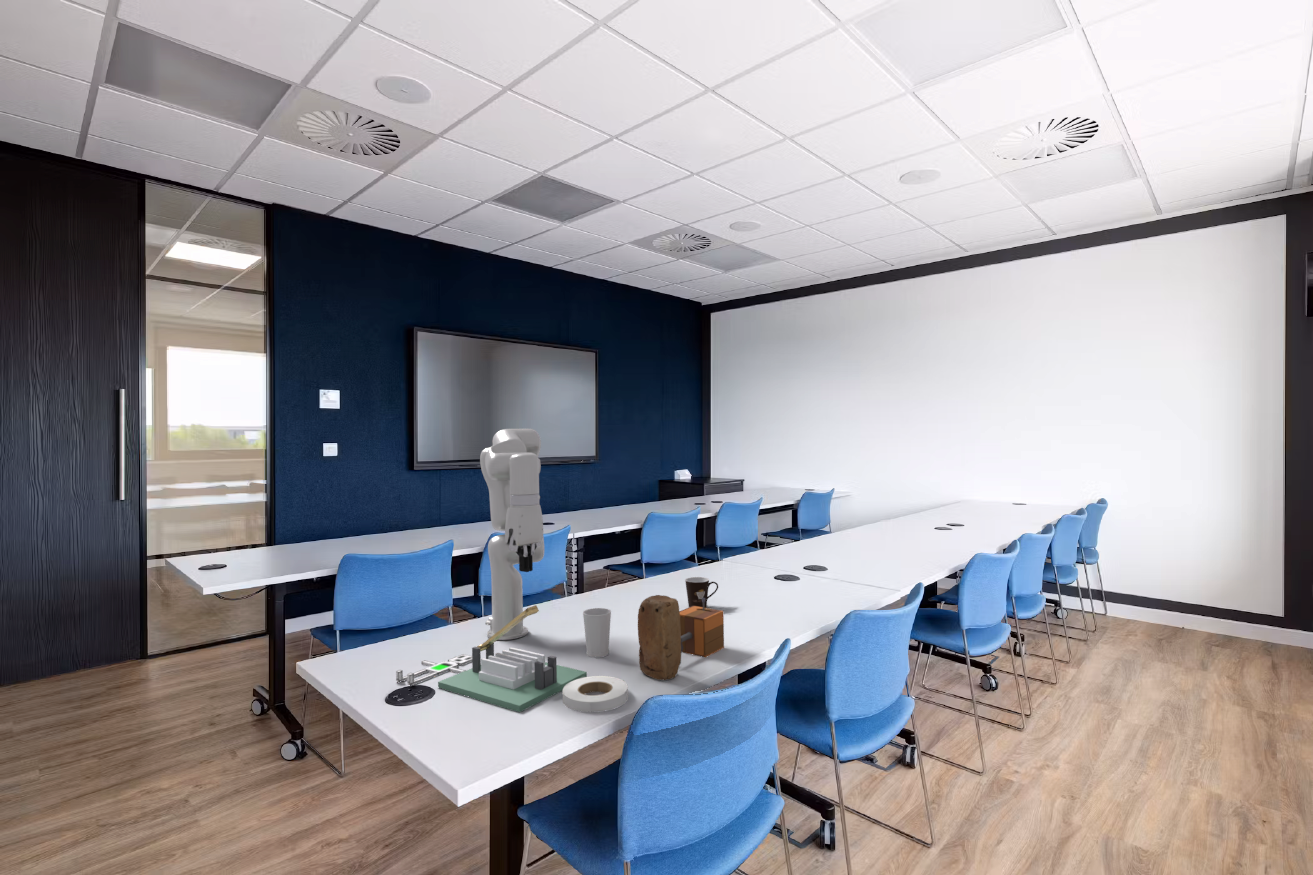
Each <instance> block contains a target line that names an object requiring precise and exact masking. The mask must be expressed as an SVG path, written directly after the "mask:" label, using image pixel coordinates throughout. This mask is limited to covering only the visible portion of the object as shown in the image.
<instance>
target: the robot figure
mask: <svg viewBox="0 0 1313 875" xmlns="http://www.w3.org/2000/svg"><path fill="white" fill-rule="evenodd" d="M467 663H468V664H469V663H472V655H470V654H469V655H468V654H466V653H465V654H464V653H463V654H460V655H457V656H454V657H452V658H450V659H447V661H445V660H444V661H442V662H439V663H438V662H433V661H429V660H422V661H421V665H424V666H427V665H428V666H427V667H426V668H424V669H420V670H418V671H415V672H409V673H407V675H405V676H403V674H404V673H403V672H404V671H403V670H402V669H398V670H395V681H397V682H400V681H404V680H406V681H407V683H406V684H407V685H410V686H409V687H412V686H411V685H413V686H415V685H417V684H416V683H418V684H420V683H422V682H421V681H423V682H425V681H427V679H428V680H430V679H432V677H433V678H435V677H438V676H440V675H443V674H445V673H448V672H450V671H452V672H451V673H454V674H458V673H461V672H464V671H466V669H462V668H459V666H461V667H462V666H465V665H468V664H467ZM447 671H448V672H447ZM426 672H427V673H428V674H426ZM429 672H430V673H429ZM423 673H424V674H426V675H424V674H423ZM442 673H443V674H442ZM421 674H422V675H424V676H422V675H421ZM418 675H419V676H421V677H419V676H418ZM437 675H438V676H437ZM415 676H417V677H418V678H416V677H415ZM434 676H435V677H434ZM415 678H416V679H415ZM429 678H430V679H429ZM424 680H425V681H424ZM404 682H405V681H404ZM419 682H420V683H419ZM414 684H415V685H414Z"/></svg>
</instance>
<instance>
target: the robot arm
mask: <svg viewBox="0 0 1313 875" xmlns="http://www.w3.org/2000/svg"><path fill="white" fill-rule="evenodd" d="M541 448H542V440H541V436H540V434H539V432H538V431H537V430H535V429H533V428H504V429H500V430H499V431H497V432H496V433H495V434H494V435H493V437H492V445H491V446H490V447H485V448H484V449H483V450H481V452H480V457H479V458H480V459H479V464H480V468H481V469H480V471H481V473H482V475H483V479H484V480H485V482H486V485H487V488H488V493H489V510H490V521H491V526H492V528H493V529H494V530H496V531H501V532H502V531H503V532H504V534H498V535H496V536H495V535H494V536H493V537H491V538H490V539H489V541H488V545H487V554H488V559H489V565H490V573H491V574H490V576H491V579H490V580H491V617H489V618H488V620H486V621H485V625H486V626H489V628H490V629H489V630H488V631H487V634H486V635H487V638H488V639H489V638H491V637H492V636H493V635H494V634H496V633H497V632H498V631H499V630H501V629H502V628H503V627H504V626H506V625H507V624H508V623H509V622H511V621H512V620H513V619H514V618H516V617H517V616H518V615H520V614H521V613H522V612H523V611H524V609H523V608H524V606H523V604H524V600H523V598H524V597H523V595H524V594H523V576H522V574H521V572H522V573H529V572H532V571H534V570H533V568H534V567H533V563H539V562H541V561H542V560H543V559H544V556H545V539H544V520H543V513H542V508H541V505H540V500H541V496H540V473H541V468H542V466H541V465H542V464H541V459H540V458H539V455H540V452H541ZM515 565H518V568H519V569H517V568H516V567H515ZM528 633H529V628H528V627H527V626H525V625H524V619H523V620H522V621H521V622H519V623H518V624H517V625H515V626H514V627H513V628H512V629H510V630H509V631H508V632H507V633H505V634H504V635H503V636H501V637H500V638H499V639H498V640H497V641H508V640H510V641H511V640H515V639H516V640H517V639H520V638H523V637H525V636H527V635H528Z"/></svg>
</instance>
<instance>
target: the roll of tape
mask: <svg viewBox="0 0 1313 875" xmlns="http://www.w3.org/2000/svg"><path fill="white" fill-rule="evenodd" d="M598 692H599V693H601V694H596V695H593V694H592V695H590V693H598ZM628 700H629V686H628V684H627V682H626V681H625V680H624V679H620V678H618V677H614V676H609V675H593V676H587V677H584V678H580V679H576V680H574V681H571V682H570V683H568V684H567V685H565V686H564V688H563V690H562V704H563V705H564V706H565V707H567V708H568V709H569V710H572V711H576V712H580V711H581V712H582V713H599V712H598V711H602V712H606V711H605V710H608V711H611V710H614V708H615V709H617V708H619V706H620V707H622V706H623V705H625V704H626V703H627V702H628Z"/></svg>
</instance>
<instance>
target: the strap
mask: <svg viewBox="0 0 1313 875" xmlns="http://www.w3.org/2000/svg"><path fill="white" fill-rule="evenodd" d="M538 612H540V611H539V608H538V606H537V605H533V606H529V607H527V608H525V609H524V610H523V612H522V613H521V614H520V615H518V616H517V617H516V618H514V619H513V620H512V621H511V622H509V623H508V624H507V625H506V626H504V627H503V628H502V629H501V630H499V631H498V632H497V633H496V634H494V635H493V636H492V637H491V638H489V637H488V639H487V640H486V641H484V642H482V644H479V645H477V646H476V647H479V648H480V653H481V652H483V651H486V649H488V648H489V647H490V645H491V644H493V643H494V644H495V642H496V641H499V640H498V639H499V638H500V637H501V636H503V635H504V634H505V633H507V632H508V631H509V630H510V629H512V628H513V627H514V626H515V625H517V624H518V623H519V622H521V621H522V620H523V621H524V620H525V619H526V618H527V617H528V616H529V617H530V616H531V615H535V614H538Z"/></svg>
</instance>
